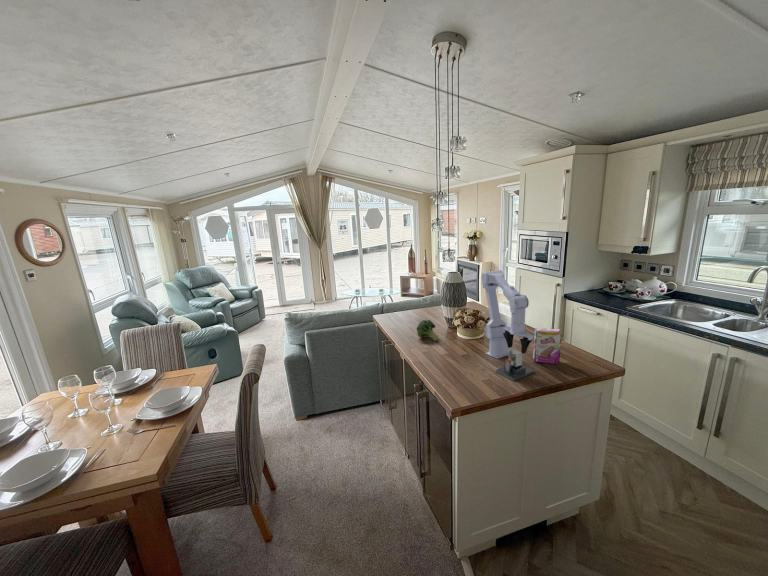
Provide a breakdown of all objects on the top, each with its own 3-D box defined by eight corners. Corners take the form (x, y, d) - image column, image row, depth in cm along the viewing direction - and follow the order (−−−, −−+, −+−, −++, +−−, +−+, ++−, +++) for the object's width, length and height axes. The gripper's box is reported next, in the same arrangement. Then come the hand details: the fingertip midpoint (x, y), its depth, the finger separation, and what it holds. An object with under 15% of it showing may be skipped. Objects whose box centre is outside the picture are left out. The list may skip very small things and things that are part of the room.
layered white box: (514, 361, 146) (514, 349, 144) (521, 364, 142) (522, 352, 141) (507, 364, 144) (508, 351, 142) (514, 367, 140) (515, 354, 139)
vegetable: (427, 342, 180) (410, 326, 188) (431, 349, 190) (415, 334, 199) (442, 327, 181) (424, 312, 190) (445, 336, 191) (428, 321, 200)
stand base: (516, 364, 151) (516, 350, 150) (534, 372, 143) (535, 358, 141) (495, 372, 145) (495, 357, 144) (513, 381, 136) (513, 366, 135)
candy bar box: (534, 362, 152) (535, 330, 149) (532, 358, 157) (534, 327, 153) (559, 364, 148) (562, 332, 145) (557, 360, 153) (560, 328, 150)
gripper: (498, 319, 145) (498, 346, 148) (525, 328, 132) (524, 357, 135) (509, 316, 148) (508, 343, 151) (536, 324, 135) (535, 353, 138)
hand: (516, 349), depth 143 cm, fingers open, 7 cm apart
